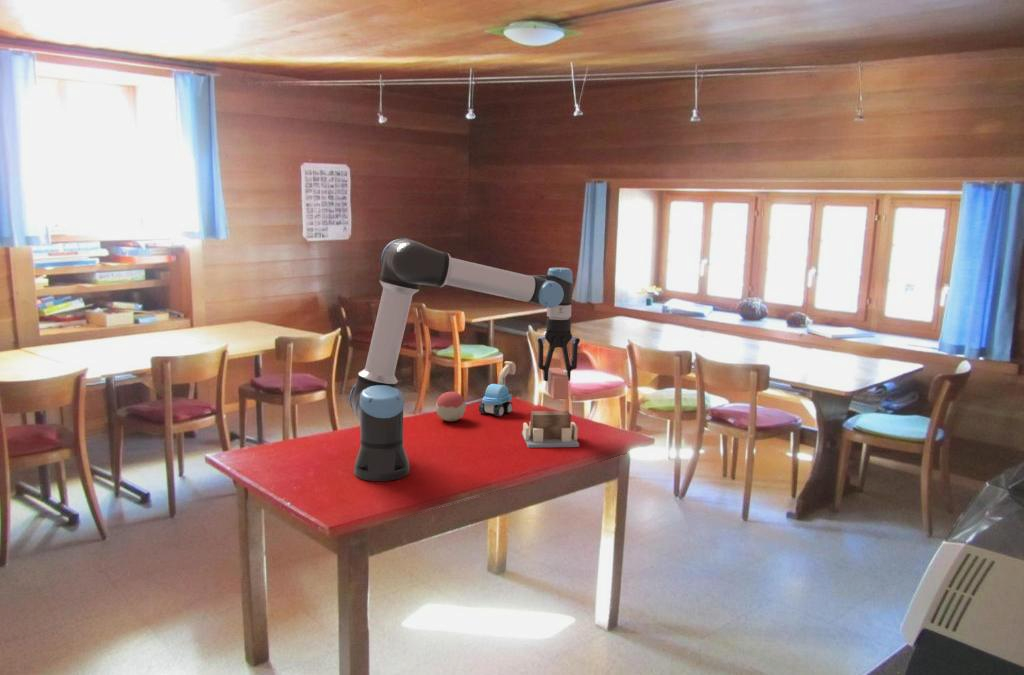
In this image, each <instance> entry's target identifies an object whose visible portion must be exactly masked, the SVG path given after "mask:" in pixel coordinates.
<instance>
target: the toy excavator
mask: <svg viewBox="0 0 1024 675" xmlns="http://www.w3.org/2000/svg"><path fill="white" fill-rule="evenodd" d="M516 368H517V366H516V363H515V362H514V361H507V360H506V361H504V367H503V368H502V370H500V372H499V375H498V383H491V384H489V385H488V386H487V387H486V389H485V394H484V396H483V398H482V400H481V402H480V403H479V404H478V412H479V413H480V414H484V415H485V414H488V413H489V414H492V415H494V416H495V417H499V418H500V417H501V416H503V415H504V413H507V414H511V413H512V411H513V408H514V407H513V406H514V404H513V402H512V400H513V394H511V393H509V387H508V386H506V376H508V375H515V374H516V371H517V369H516Z"/></svg>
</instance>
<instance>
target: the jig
mask: <svg viewBox="0 0 1024 675" xmlns="http://www.w3.org/2000/svg"><path fill="white" fill-rule="evenodd" d="M528 424H529V425H528ZM530 426H531V420H530V421H529V423H527V422H523V423H522V431H521V435H522V437H523V440H524V441H525V444H526V446H527V448H533V449H534V448H575V447H576V448H579V447H580V443H579V442H578V433H579V432H578V431H579V427H578V425H577V424H576V423H575V422H574V421H571V422H570V428H561V439H543V428H533V440H532V438H531V436H530Z"/></svg>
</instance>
